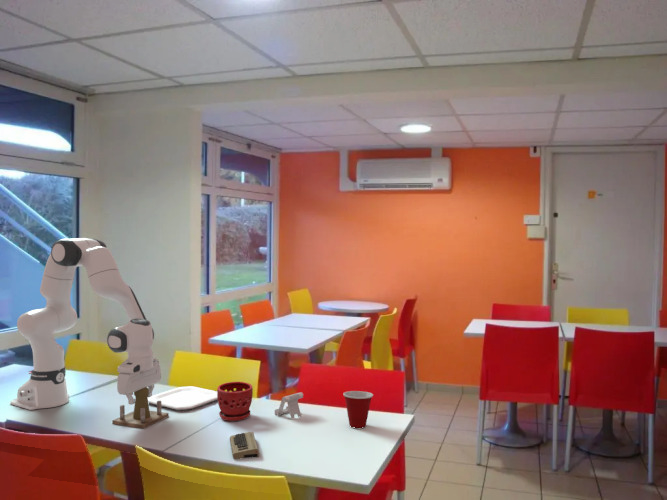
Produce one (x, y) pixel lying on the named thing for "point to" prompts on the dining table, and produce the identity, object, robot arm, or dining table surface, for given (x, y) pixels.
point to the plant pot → (234, 400)
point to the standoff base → (137, 422)
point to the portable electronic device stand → (290, 405)
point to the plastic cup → (357, 407)
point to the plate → (184, 398)
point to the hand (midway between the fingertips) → (140, 400)
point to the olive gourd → (141, 403)
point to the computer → (244, 445)
